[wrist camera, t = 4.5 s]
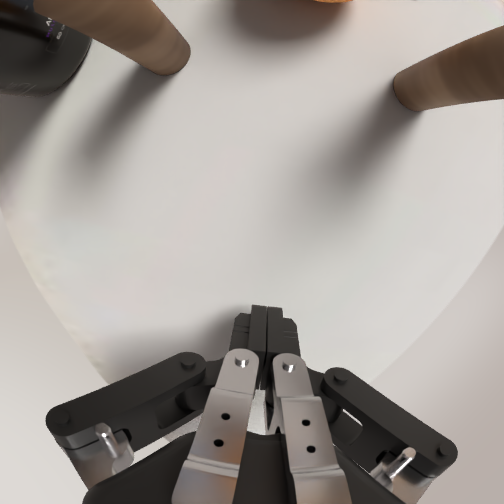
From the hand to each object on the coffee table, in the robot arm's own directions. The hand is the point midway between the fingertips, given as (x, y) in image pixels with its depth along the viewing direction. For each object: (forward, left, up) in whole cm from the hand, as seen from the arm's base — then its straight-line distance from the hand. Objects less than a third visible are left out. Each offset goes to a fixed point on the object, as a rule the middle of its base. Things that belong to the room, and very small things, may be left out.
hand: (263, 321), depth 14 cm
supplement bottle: (-15, -15, -2) cm, 21 cm away
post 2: (-13, +6, -2) cm, 15 cm away
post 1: (-13, -6, -2) cm, 15 cm away
